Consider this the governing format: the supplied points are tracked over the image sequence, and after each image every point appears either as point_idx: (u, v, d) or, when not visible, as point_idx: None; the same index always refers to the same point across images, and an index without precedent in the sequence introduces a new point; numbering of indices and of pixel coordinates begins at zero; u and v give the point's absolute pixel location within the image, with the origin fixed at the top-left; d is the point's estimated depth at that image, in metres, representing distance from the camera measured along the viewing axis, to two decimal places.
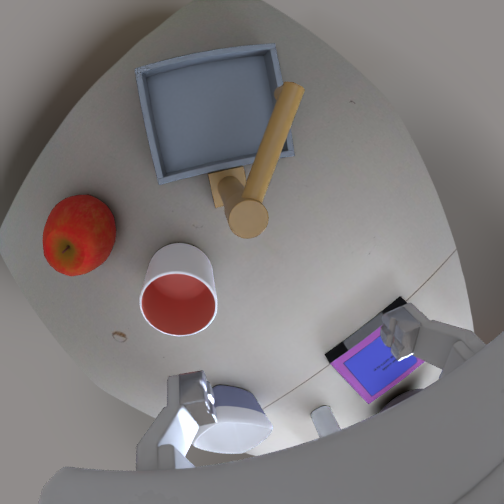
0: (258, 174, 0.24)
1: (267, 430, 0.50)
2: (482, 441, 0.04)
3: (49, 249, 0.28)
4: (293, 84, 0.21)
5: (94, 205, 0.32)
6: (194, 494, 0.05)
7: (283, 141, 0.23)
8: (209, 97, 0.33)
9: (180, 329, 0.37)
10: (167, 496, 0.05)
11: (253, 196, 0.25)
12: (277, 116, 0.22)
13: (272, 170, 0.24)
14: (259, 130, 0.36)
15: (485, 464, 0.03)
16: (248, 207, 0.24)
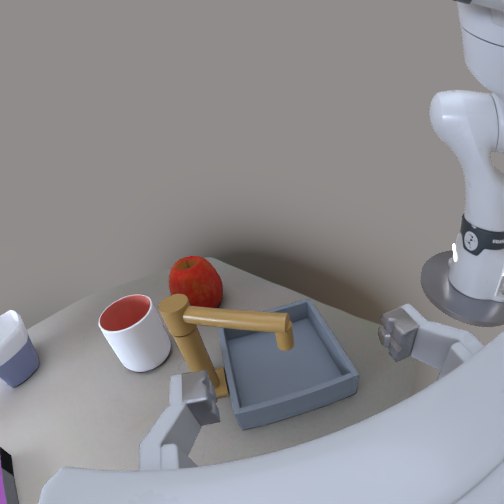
0: (206, 307, 0.30)
1: None
2: (482, 441, 0.04)
3: (191, 257, 0.55)
4: (285, 313, 0.27)
5: (212, 291, 0.52)
6: (194, 494, 0.05)
7: (232, 318, 0.28)
8: (293, 358, 0.39)
9: (105, 318, 0.42)
10: (167, 496, 0.05)
11: (189, 307, 0.30)
12: (253, 311, 0.28)
13: (208, 316, 0.29)
14: (264, 400, 0.33)
15: (485, 464, 0.03)
16: (181, 301, 0.31)
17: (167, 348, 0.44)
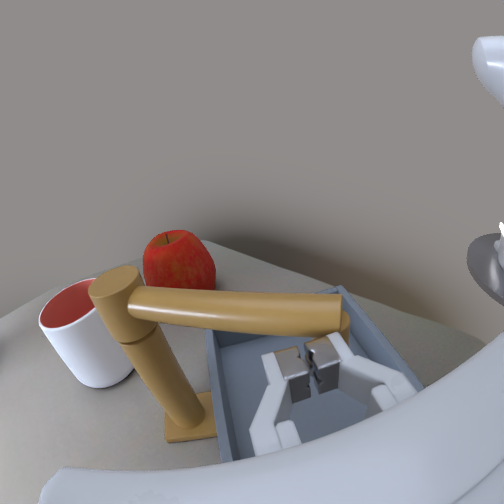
0: (169, 288, 0.15)
1: None
2: (482, 441, 0.04)
3: (174, 232, 0.40)
4: (338, 294, 0.12)
5: (200, 277, 0.37)
6: (194, 494, 0.05)
7: (219, 309, 0.13)
8: None
9: (52, 310, 0.27)
10: (167, 496, 0.05)
11: (140, 287, 0.15)
12: None
13: (170, 304, 0.14)
14: None
15: (485, 464, 0.03)
16: (127, 277, 0.16)
17: None
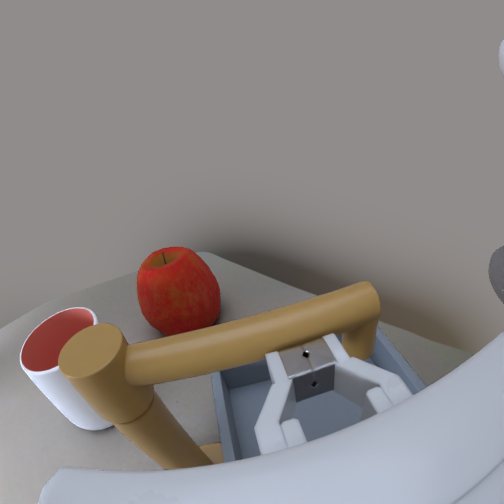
0: (174, 335, 0.11)
1: None
2: (482, 441, 0.04)
3: (171, 249, 0.35)
4: (364, 281, 0.12)
5: (203, 303, 0.31)
6: (194, 494, 0.05)
7: (260, 336, 0.11)
8: None
9: (35, 343, 0.22)
10: (167, 496, 0.05)
11: (131, 346, 0.11)
12: (294, 303, 0.12)
13: (192, 352, 0.11)
14: None
15: (485, 464, 0.03)
16: (108, 338, 0.11)
17: None
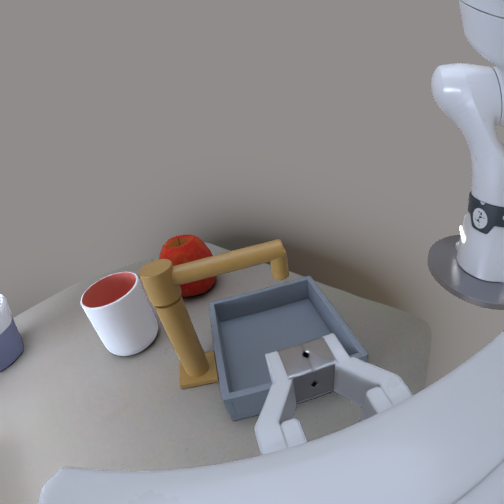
0: None
1: None
2: (482, 441, 0.04)
3: (183, 236, 0.51)
4: None
5: None
6: (194, 494, 0.05)
7: (229, 258, 0.28)
8: (292, 340, 0.35)
9: (89, 297, 0.39)
10: (167, 496, 0.05)
11: (175, 266, 0.28)
12: None
13: (202, 265, 0.27)
14: (259, 386, 0.29)
15: (485, 464, 0.03)
16: (164, 263, 0.28)
17: (154, 330, 0.40)
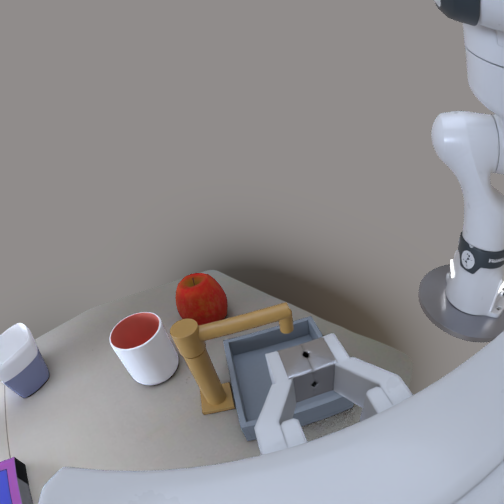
0: (216, 321, 0.34)
1: None
2: (482, 441, 0.04)
3: (197, 274, 0.57)
4: (285, 302, 0.35)
5: (217, 308, 0.54)
6: (194, 494, 0.05)
7: (245, 320, 0.33)
8: None
9: (115, 334, 0.44)
10: (167, 496, 0.05)
11: (200, 326, 0.33)
12: (258, 310, 0.35)
13: (223, 326, 0.33)
14: None
15: (485, 464, 0.03)
16: (191, 323, 0.33)
17: (175, 363, 0.46)
